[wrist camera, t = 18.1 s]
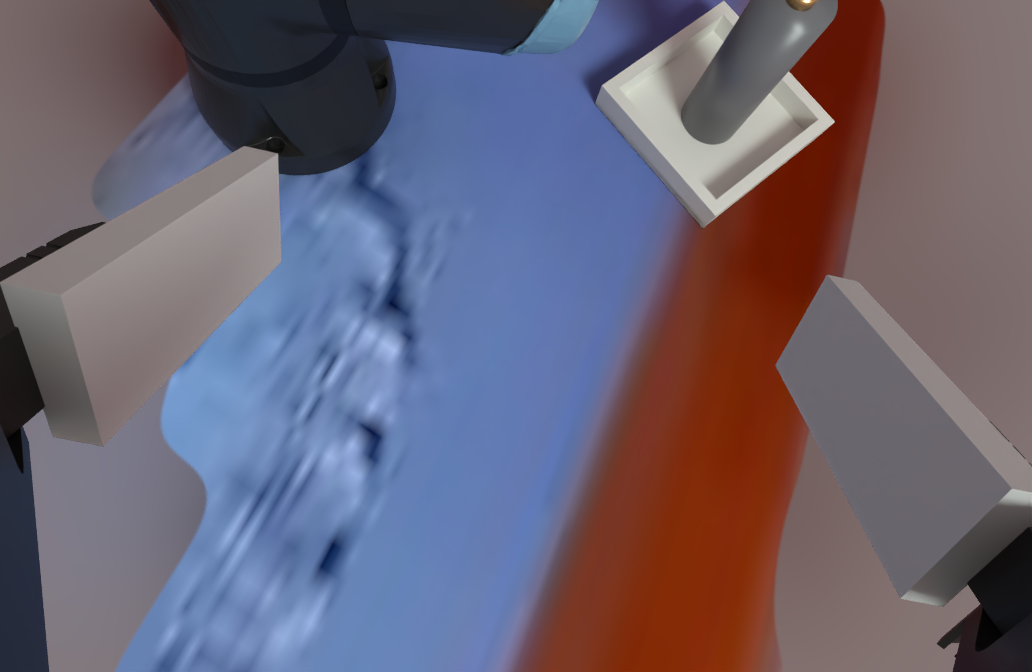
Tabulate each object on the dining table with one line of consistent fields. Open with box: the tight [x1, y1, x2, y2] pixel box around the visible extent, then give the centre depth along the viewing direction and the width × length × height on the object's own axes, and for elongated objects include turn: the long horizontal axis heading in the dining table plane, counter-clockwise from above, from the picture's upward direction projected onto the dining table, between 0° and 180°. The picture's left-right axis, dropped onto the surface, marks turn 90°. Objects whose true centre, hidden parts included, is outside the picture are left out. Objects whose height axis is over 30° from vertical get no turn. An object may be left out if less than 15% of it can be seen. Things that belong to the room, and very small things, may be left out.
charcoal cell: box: [681, 0, 838, 145], centre depth 41 cm, size 5×5×14 cm
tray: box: [595, 1, 835, 228], centre depth 48 cm, size 14×14×2 cm
